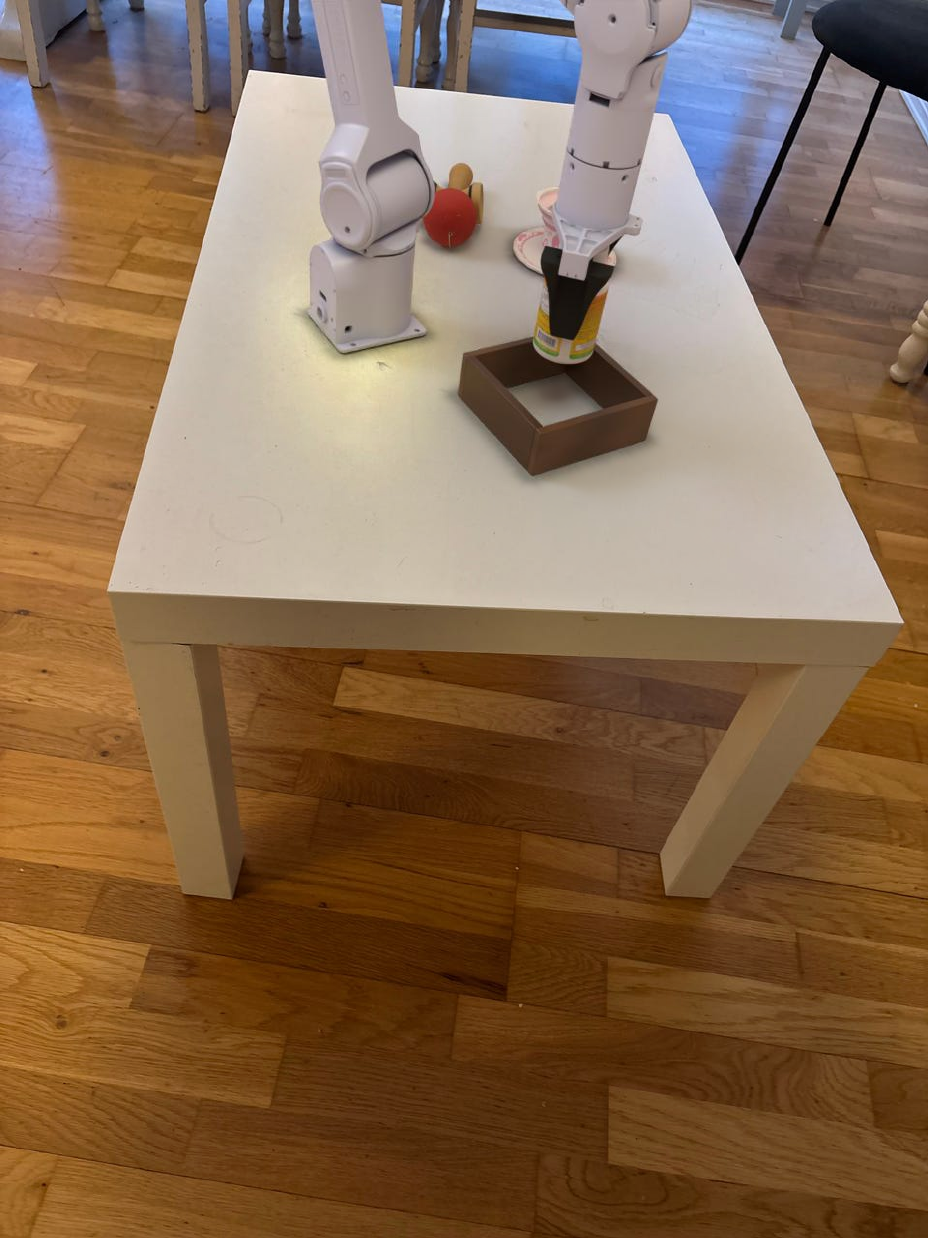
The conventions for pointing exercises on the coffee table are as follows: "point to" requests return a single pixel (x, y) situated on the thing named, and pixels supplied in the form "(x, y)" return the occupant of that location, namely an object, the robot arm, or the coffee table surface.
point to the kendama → (455, 208)
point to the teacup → (542, 234)
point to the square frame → (564, 440)
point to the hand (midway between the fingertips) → (568, 318)
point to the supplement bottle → (587, 335)
